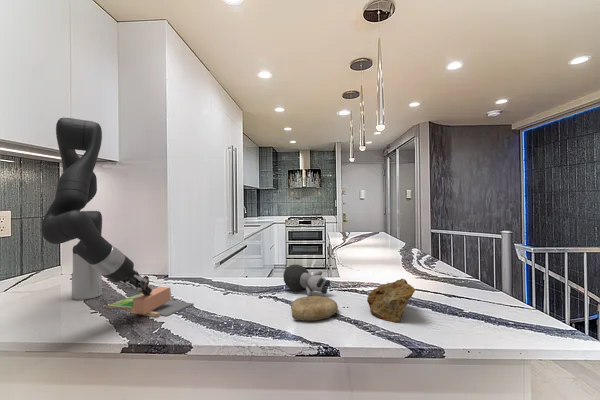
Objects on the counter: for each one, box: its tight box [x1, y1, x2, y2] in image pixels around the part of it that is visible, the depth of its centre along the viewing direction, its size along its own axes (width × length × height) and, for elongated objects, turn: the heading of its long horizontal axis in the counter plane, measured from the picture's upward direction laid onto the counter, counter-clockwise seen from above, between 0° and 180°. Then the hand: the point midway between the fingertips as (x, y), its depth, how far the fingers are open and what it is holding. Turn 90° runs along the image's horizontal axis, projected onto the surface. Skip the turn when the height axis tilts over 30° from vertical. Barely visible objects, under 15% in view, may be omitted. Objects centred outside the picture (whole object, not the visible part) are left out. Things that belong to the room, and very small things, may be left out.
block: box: [133, 285, 173, 315], centre depth 100 cm, size 4×4×11 cm
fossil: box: [290, 295, 339, 321], centre depth 97 cm, size 17×15×5 cm
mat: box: [152, 299, 195, 318], centre depth 104 cm, size 16×12×1 cm
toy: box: [283, 264, 331, 296], centre depth 120 cm, size 11×12×20 cm
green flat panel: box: [106, 292, 142, 311], centre depth 113 cm, size 20×1×10 cm
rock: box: [366, 278, 416, 323], centre depth 97 cm, size 20×15×10 cm
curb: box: [129, 308, 161, 319], centre depth 97 cm, size 12×1×1 cm, turn 67°
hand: (148, 292), depth 99 cm, fingers closed
